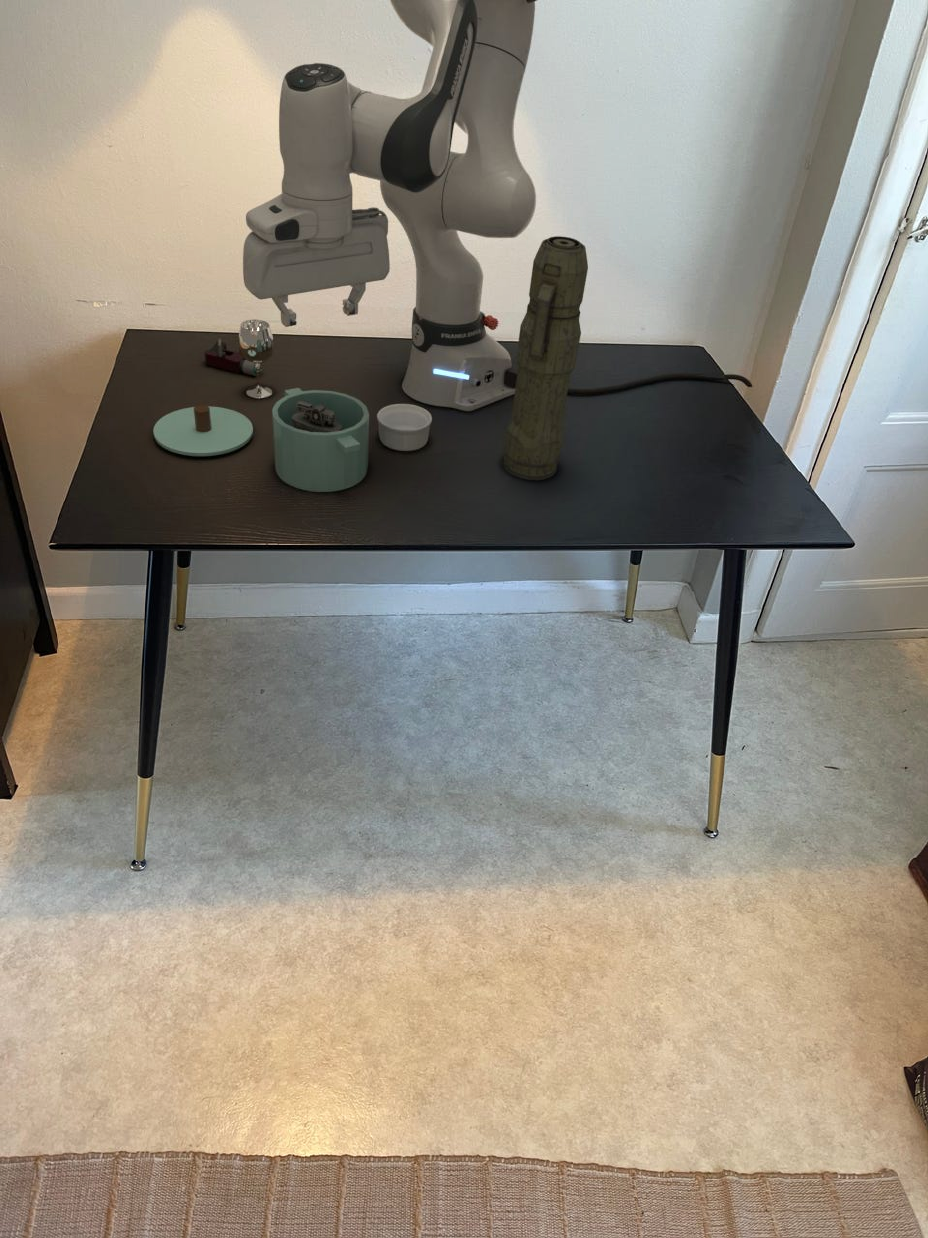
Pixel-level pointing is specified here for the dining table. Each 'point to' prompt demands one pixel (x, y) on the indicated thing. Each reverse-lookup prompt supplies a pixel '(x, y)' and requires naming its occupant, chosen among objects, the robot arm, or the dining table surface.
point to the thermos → (546, 358)
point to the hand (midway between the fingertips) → (320, 319)
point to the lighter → (314, 418)
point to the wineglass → (256, 350)
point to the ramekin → (404, 426)
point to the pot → (321, 443)
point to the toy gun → (228, 359)
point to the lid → (203, 431)
